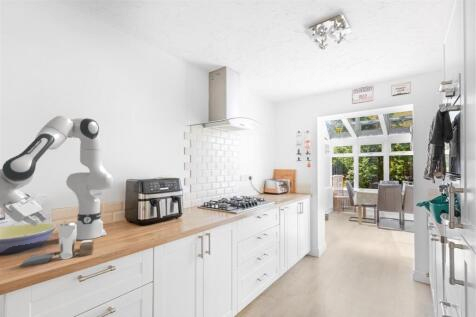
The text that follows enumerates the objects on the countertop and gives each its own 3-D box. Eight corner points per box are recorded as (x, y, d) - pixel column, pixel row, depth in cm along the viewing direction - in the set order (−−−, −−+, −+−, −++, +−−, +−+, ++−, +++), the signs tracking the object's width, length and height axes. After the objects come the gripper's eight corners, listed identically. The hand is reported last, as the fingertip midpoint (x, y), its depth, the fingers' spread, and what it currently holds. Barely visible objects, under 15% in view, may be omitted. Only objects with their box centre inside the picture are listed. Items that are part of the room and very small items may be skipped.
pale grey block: (82, 248, 120) (82, 240, 120) (91, 247, 122) (91, 239, 122) (79, 252, 114) (80, 243, 115) (89, 250, 116) (89, 242, 116)
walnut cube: (81, 252, 113) (81, 242, 113) (93, 251, 115) (93, 241, 115) (79, 256, 108) (79, 245, 109) (91, 254, 110) (92, 244, 111)
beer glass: (54, 257, 106) (56, 224, 107) (72, 253, 112) (73, 221, 113) (61, 261, 103) (62, 226, 103) (78, 256, 108) (80, 223, 109)
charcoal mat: (31, 256, 108) (31, 255, 108) (55, 253, 111) (55, 252, 111) (20, 266, 97) (20, 265, 97) (47, 262, 100) (47, 261, 100)
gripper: (8, 198, 92) (38, 221, 96) (30, 194, 111) (54, 213, 114) (-7, 210, 90) (23, 233, 94) (17, 203, 109) (42, 223, 112)
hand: (40, 222), depth 104 cm, fingers open, 8 cm apart
